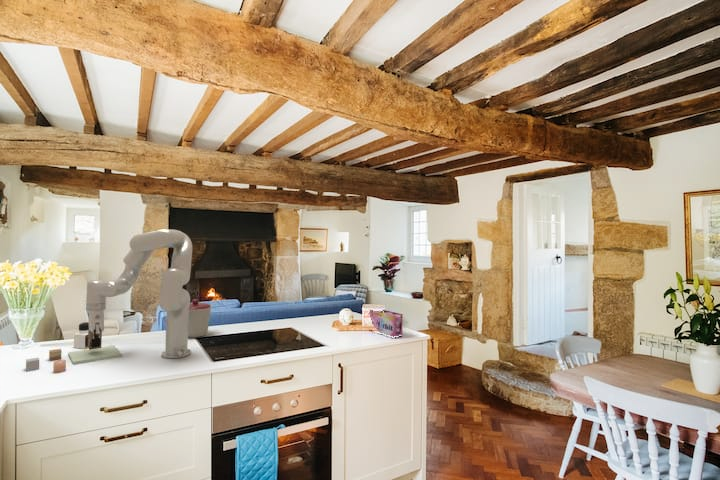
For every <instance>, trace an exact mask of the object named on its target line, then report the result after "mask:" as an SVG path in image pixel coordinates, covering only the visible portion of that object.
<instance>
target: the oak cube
mask: <svg viewBox="0 0 720 480" xmlns="http://www.w3.org/2000/svg"><path fill="white" fill-rule="evenodd" d="M48 351H49V353H48V360H49V362H55V361H59V360H62V353H63V352H62V348H56V349H50V350H48Z"/></svg>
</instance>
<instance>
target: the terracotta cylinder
mask: <svg viewBox="0 0 720 480" xmlns="http://www.w3.org/2000/svg"><path fill="white" fill-rule="evenodd" d="M52 370H53V371H52V373H55V374H58V373H59V374H60V373H64V372H66V370H67V360H66V359H61V360H55V361H53V369H52Z"/></svg>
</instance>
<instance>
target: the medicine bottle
mask: <svg viewBox="0 0 720 480" xmlns="http://www.w3.org/2000/svg"><path fill="white" fill-rule="evenodd" d="M88 331H89V321H87V322H85V321H84V322H81V323H79V325H78V332H76V333H74V334H73V348H74V349H81V350H87V349H89V348H88Z"/></svg>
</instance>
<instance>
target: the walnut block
mask: <svg viewBox="0 0 720 480" xmlns="http://www.w3.org/2000/svg"><path fill="white" fill-rule="evenodd" d="M94 332H96V330H95V331H94ZM102 333H103V331H101V330H100V346H99V347H93V348H92V347H91V344H92V339H93V337H92V332H91V331H90V330H89V331H88V348H87V349H89V350H91V349H98V348H101V347H102V338H103V337H102V336H103V334H102ZM94 334H96V333H94Z"/></svg>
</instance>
